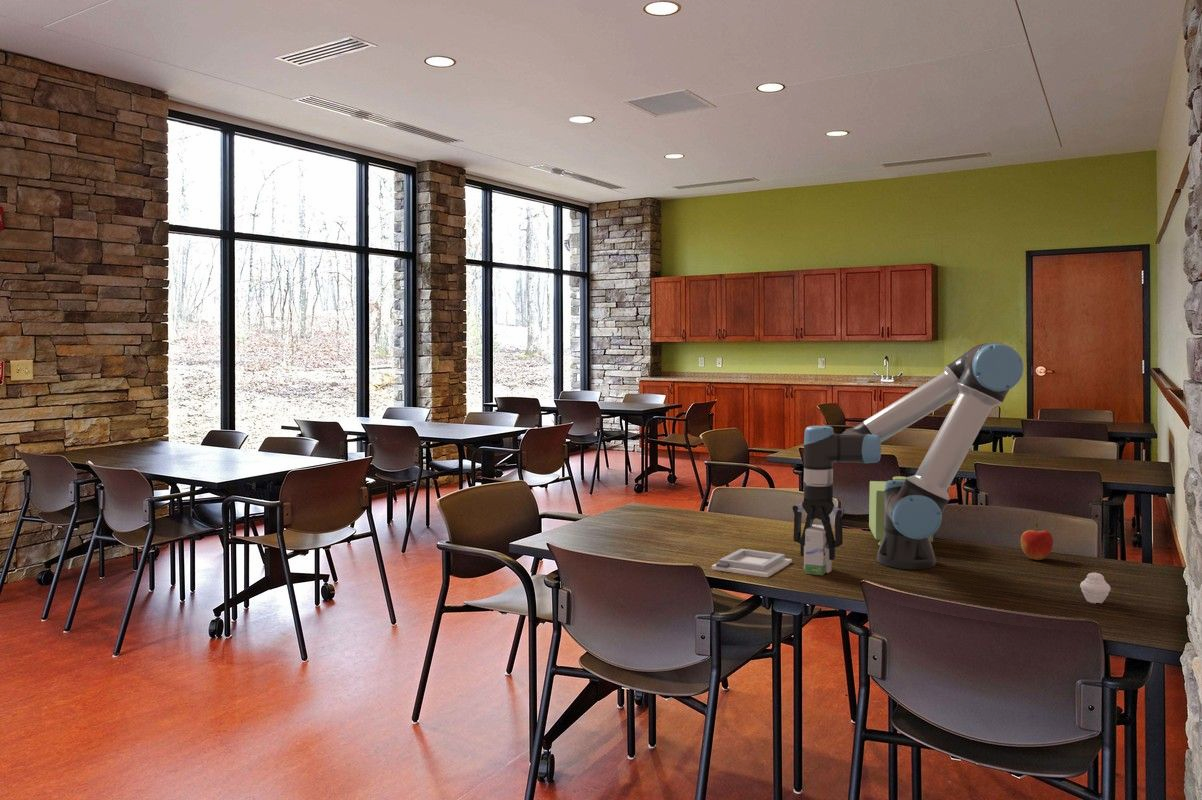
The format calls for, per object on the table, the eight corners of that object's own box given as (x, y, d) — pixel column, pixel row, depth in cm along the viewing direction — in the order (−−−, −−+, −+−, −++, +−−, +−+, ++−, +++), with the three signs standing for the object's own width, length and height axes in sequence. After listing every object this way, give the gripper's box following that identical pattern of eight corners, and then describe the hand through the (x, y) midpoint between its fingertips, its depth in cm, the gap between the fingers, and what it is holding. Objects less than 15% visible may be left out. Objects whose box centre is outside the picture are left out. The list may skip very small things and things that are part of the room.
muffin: (1081, 604, 198) (1082, 574, 197) (1077, 596, 203) (1078, 567, 203) (1112, 606, 195) (1113, 576, 195) (1107, 599, 201) (1108, 570, 201)
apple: (1022, 561, 237) (1022, 526, 236) (1018, 554, 244) (1019, 520, 244) (1054, 563, 234) (1055, 527, 233) (1050, 557, 241) (1051, 522, 241)
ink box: (823, 576, 223) (823, 531, 223) (804, 573, 226) (804, 529, 225) (830, 568, 231) (830, 525, 230) (812, 566, 233) (812, 523, 232)
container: (868, 533, 273) (869, 471, 272) (922, 535, 270) (923, 473, 269) (875, 547, 254) (876, 481, 253) (933, 549, 251) (934, 482, 250)
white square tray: (791, 562, 237) (791, 553, 237) (766, 577, 222) (767, 568, 222) (738, 555, 246) (738, 546, 246) (711, 569, 231) (711, 560, 230)
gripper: (856, 484, 225) (855, 571, 226) (790, 479, 235) (789, 562, 236) (848, 488, 219) (847, 578, 220) (780, 483, 229) (779, 568, 230)
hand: (817, 569), depth 228 cm, fingers closed on ink box, 5 cm apart
